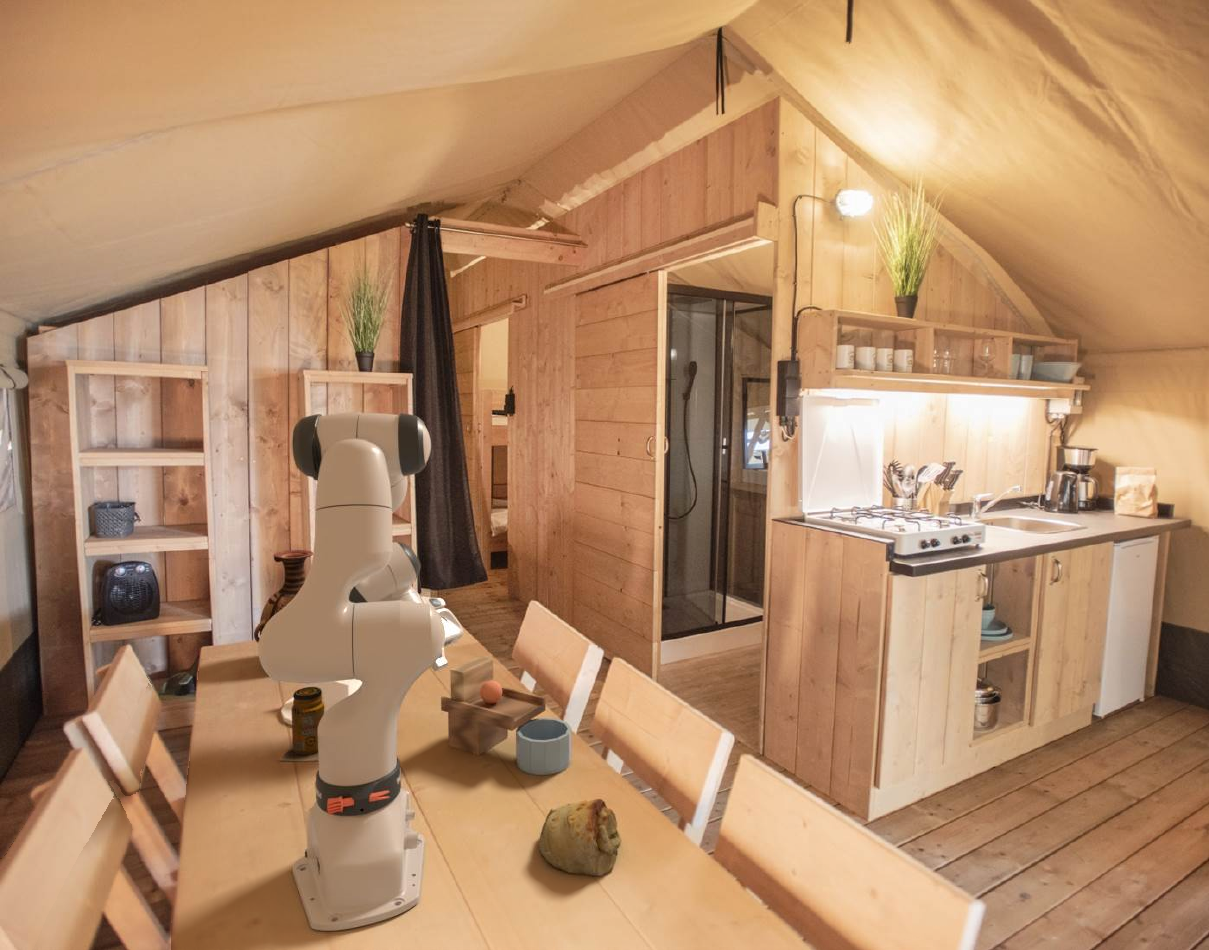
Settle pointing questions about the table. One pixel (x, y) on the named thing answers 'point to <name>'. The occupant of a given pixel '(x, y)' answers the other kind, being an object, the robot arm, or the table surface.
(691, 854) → the table surface
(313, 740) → the condiment
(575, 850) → the pastry
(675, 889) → the table surface
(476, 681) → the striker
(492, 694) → the ball
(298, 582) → the vase
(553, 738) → the cup
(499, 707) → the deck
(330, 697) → the dish
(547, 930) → the table surface
